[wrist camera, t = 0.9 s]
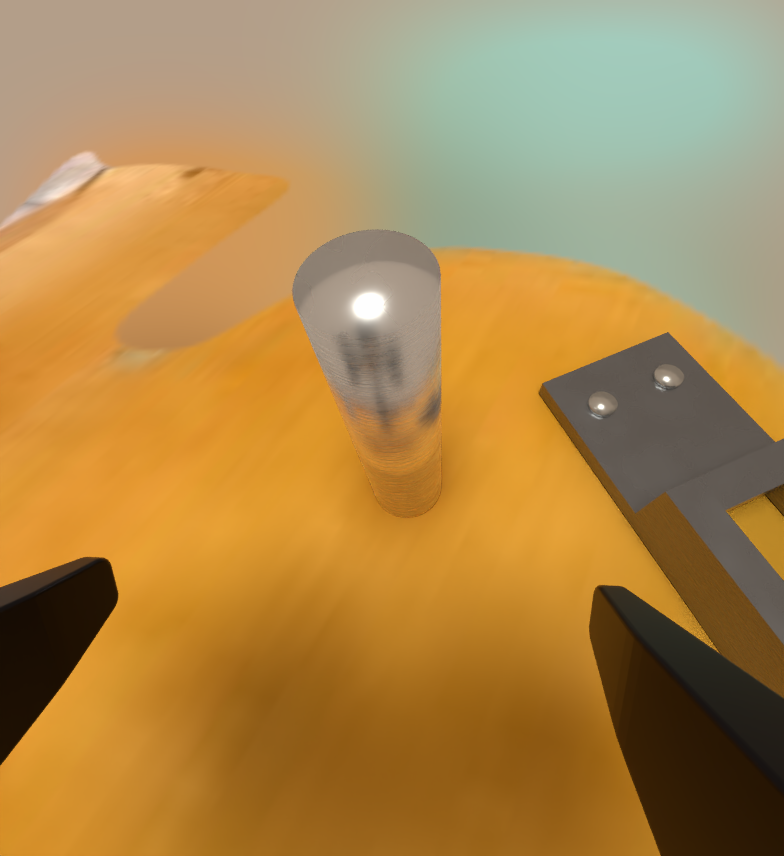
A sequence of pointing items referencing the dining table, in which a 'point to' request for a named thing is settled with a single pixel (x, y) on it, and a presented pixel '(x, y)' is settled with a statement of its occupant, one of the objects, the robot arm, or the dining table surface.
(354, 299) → the pin
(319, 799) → the dining table surface
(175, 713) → the dining table surface
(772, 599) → the grey socket base plate
